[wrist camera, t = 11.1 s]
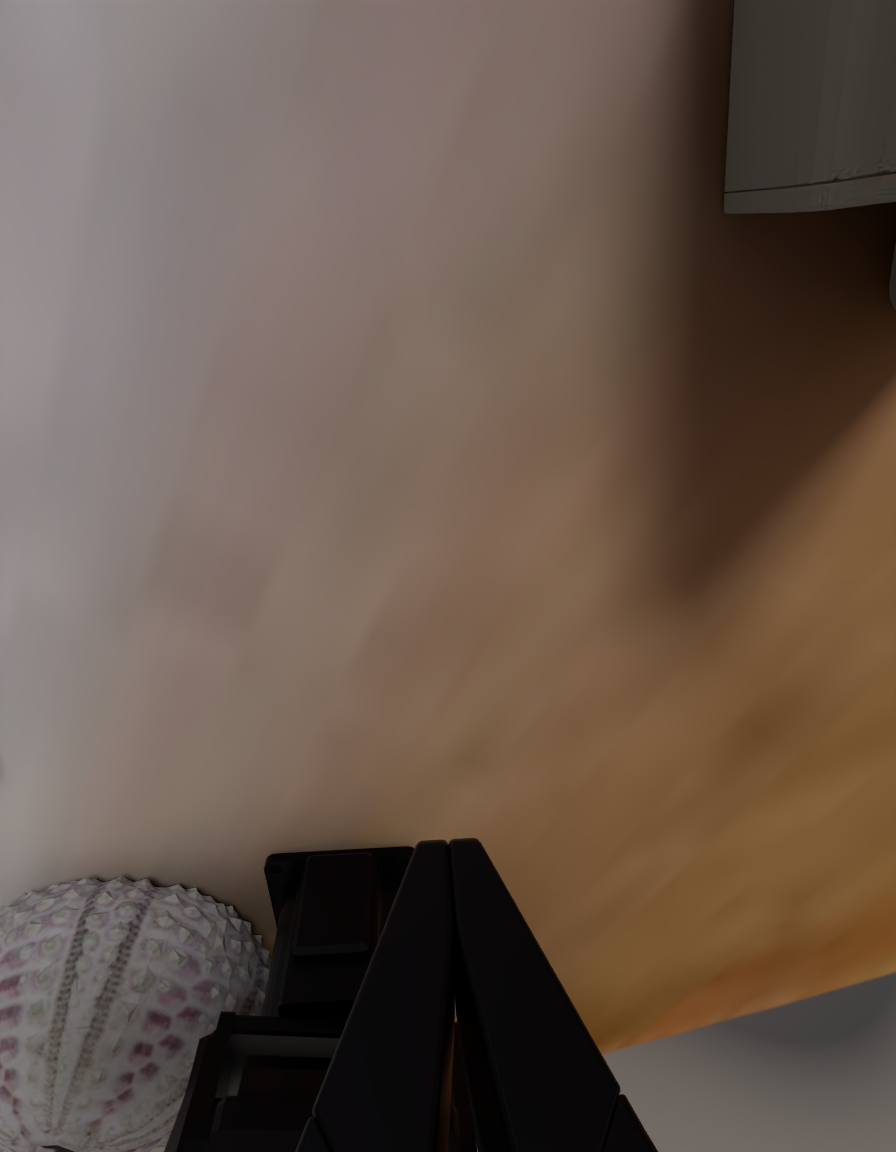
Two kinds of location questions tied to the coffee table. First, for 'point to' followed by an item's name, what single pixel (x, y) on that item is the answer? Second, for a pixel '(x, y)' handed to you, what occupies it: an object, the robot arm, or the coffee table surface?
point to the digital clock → (812, 107)
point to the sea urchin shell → (113, 1009)
